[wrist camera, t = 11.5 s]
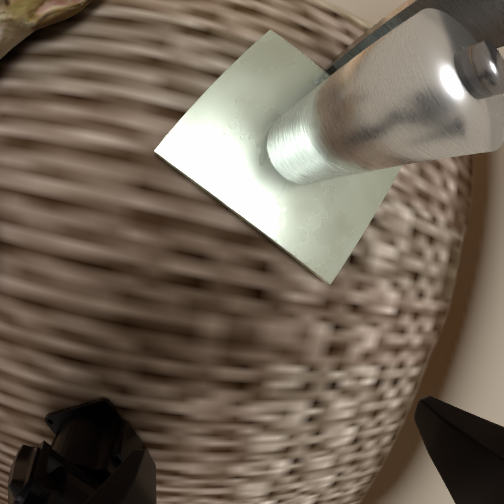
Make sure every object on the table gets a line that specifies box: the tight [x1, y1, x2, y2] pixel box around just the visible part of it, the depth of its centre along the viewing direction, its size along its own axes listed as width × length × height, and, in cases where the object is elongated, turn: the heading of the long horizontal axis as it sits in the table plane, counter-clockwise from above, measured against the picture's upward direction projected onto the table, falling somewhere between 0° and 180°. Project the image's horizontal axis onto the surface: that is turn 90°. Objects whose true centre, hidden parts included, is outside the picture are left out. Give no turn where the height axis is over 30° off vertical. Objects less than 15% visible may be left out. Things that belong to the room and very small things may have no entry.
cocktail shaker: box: [267, 8, 504, 184], centre depth 12 cm, size 5×5×14 cm
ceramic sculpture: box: [0, 0, 93, 59], centre depth 9 cm, size 11×9×15 cm
